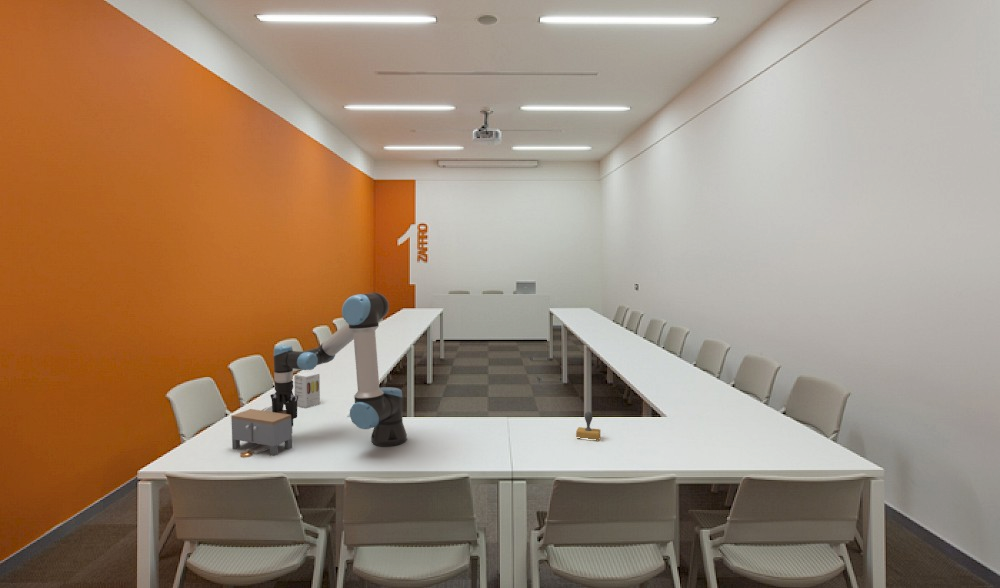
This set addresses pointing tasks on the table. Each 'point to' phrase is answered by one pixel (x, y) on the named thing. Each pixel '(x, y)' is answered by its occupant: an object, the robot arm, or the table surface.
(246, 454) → the copper disc
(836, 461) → the table surface
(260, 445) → the wooden block bookend
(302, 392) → the supplement box
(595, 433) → the rubber stamp
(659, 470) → the table surface
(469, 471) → the table surface
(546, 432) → the table surface
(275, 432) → the low cabinet
